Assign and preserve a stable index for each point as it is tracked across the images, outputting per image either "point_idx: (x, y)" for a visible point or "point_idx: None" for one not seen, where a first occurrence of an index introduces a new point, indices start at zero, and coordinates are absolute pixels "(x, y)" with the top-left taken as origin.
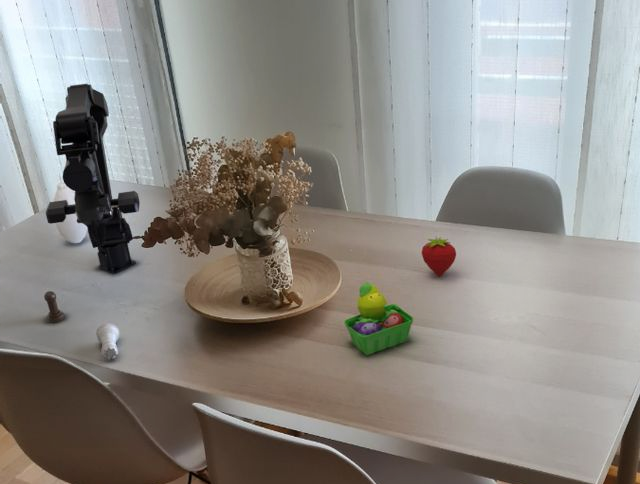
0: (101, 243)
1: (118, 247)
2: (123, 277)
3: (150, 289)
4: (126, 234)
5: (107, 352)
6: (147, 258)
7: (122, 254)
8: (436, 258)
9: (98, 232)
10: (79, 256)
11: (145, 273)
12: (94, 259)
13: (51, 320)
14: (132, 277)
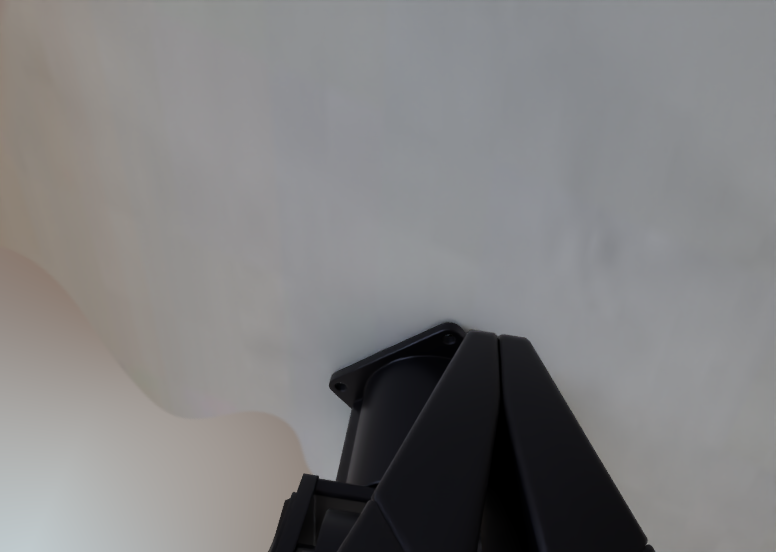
0: (499, 352)
1: (383, 467)
2: (408, 266)
3: (219, 15)
4: (286, 529)
5: None
6: (273, 400)
7: (377, 424)
8: None
9: (504, 543)
10: None
11: (273, 257)
12: None
13: None
14: (352, 243)
